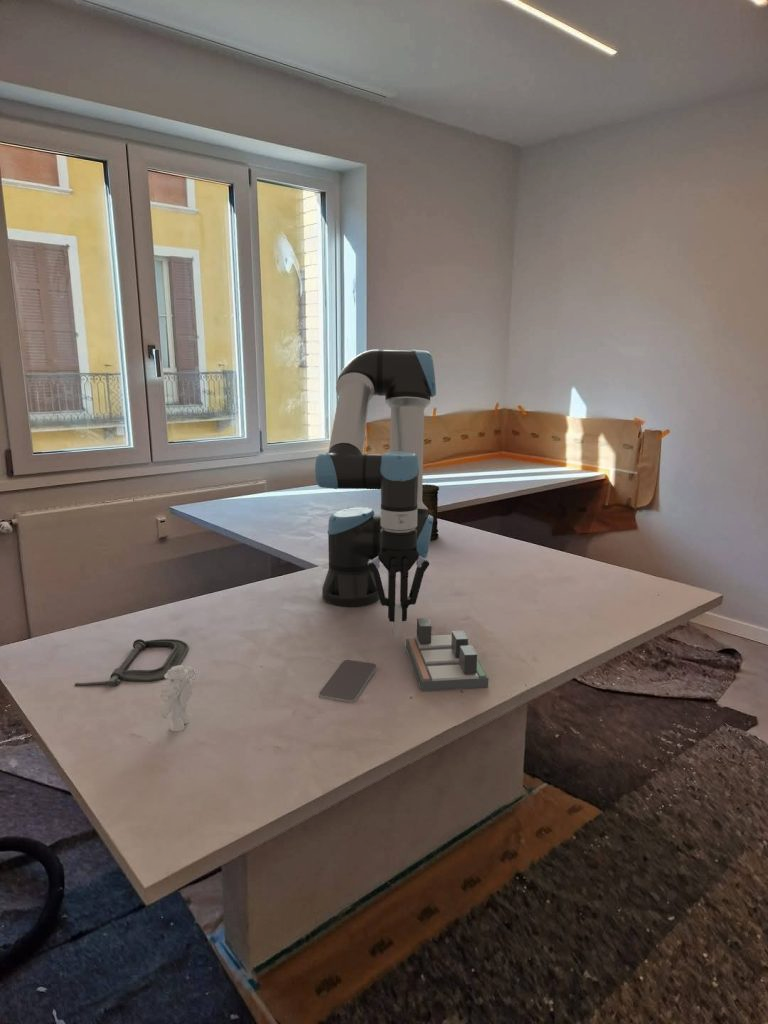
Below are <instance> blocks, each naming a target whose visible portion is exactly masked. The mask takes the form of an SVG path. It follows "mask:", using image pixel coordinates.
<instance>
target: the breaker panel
mask: <svg viewBox="0 0 768 1024" xmlns="http://www.w3.org/2000/svg"><path fill="white" fill-rule="evenodd" d="M451 642H452V634H436V635H435V634H431V643H430V644H420V643H419V641H418V638H417V635H416V636H415V637H411V638H409V637H408V638H406V639H405V648H406V651H407V654H408V656H409V659H410V661H411V662H410V663H411V665H412V667H413V671H414V674H415V676H416V679H417V681H418V685H419V688H420V690H421V692H428V691H429V692H430V691H431V692H432V691H446V690H447V691H448V690H449V691H450V690H463V689H464V690H465V689H483V688H489V676H488V675H487V673H486V672H485V669H484V668H483V666H482V663H480V661H479V659H478V658H477V671H476V674H464V673H463V671H462V669H461V667H460V665H459V658H460V657H458V658H456V657H455V655H454V653H453V651H452V649H451ZM468 645H470V643H469V642H468Z"/></svg>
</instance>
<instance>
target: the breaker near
mask: <svg viewBox="0 0 768 1024" xmlns="http://www.w3.org/2000/svg"><path fill="white" fill-rule="evenodd" d="M473 646H474V645H471V644H469V645H468V646H460V658H459V665H460V667H461V669H462V671H463V673H464V674H476V671H477V659H478V654H477V652H476V650H475V648H474V647H473Z"/></svg>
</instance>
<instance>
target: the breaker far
mask: <svg viewBox="0 0 768 1024" xmlns="http://www.w3.org/2000/svg"><path fill="white" fill-rule="evenodd" d="M416 636H417V638H418V641H419V643H420V644H430V643H431V636H432V624H431V622H430V619H429V618H426V617H425V618H417V619H416Z"/></svg>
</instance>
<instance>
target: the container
mask: <svg viewBox="0 0 768 1024" xmlns="http://www.w3.org/2000/svg"><path fill="white" fill-rule="evenodd" d="M439 490H440V487H439V486H438V485H435V484H428V483H427V484H422V502H423V504H424V505H425V506H426V507H427V508H428V515H431V516H432V517H433V523H432V531H431V537H430V541H435V540H437V539H439V533H438V532H439V529H438V506H439V505H438V500H439V498H438V495H439Z"/></svg>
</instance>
